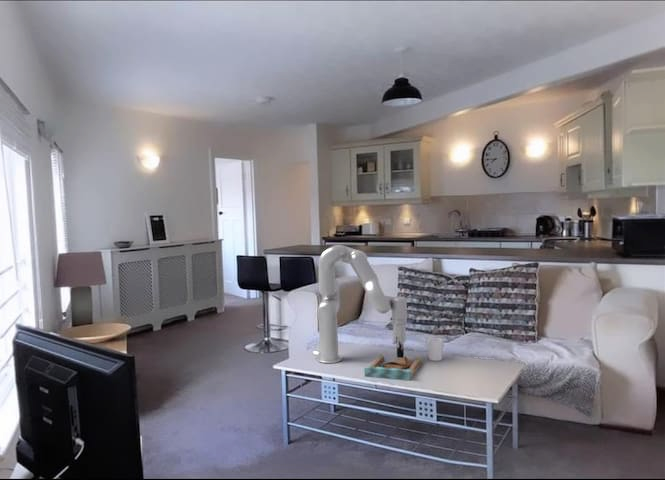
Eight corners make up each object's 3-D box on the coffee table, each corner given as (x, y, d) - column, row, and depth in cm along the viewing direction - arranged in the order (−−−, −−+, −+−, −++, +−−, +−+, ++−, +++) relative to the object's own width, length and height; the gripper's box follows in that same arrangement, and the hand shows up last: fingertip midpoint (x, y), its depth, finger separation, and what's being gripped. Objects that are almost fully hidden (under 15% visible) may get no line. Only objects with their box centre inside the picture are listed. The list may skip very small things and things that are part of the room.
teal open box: (364, 376, 228) (364, 367, 228) (380, 360, 253) (380, 352, 253) (409, 380, 220) (409, 371, 220) (421, 363, 245) (421, 355, 245)
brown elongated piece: (395, 374, 229) (389, 360, 232) (385, 379, 234) (379, 365, 236) (418, 365, 242) (412, 352, 244) (408, 370, 246) (403, 357, 249)
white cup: (443, 361, 247) (443, 341, 246) (427, 361, 248) (427, 341, 248) (443, 357, 255) (442, 337, 254) (427, 356, 256) (427, 337, 256)
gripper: (395, 318, 256) (396, 352, 257) (388, 324, 242) (389, 360, 243) (409, 318, 254) (410, 353, 255) (403, 324, 240) (404, 362, 241)
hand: (400, 357), depth 249 cm, fingers closed
